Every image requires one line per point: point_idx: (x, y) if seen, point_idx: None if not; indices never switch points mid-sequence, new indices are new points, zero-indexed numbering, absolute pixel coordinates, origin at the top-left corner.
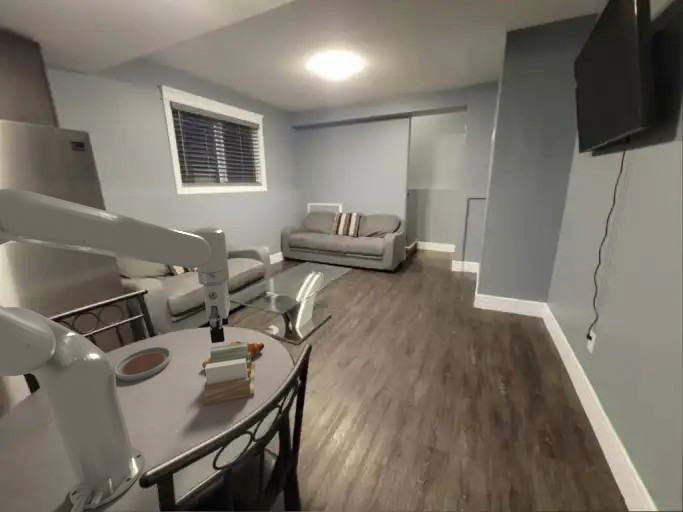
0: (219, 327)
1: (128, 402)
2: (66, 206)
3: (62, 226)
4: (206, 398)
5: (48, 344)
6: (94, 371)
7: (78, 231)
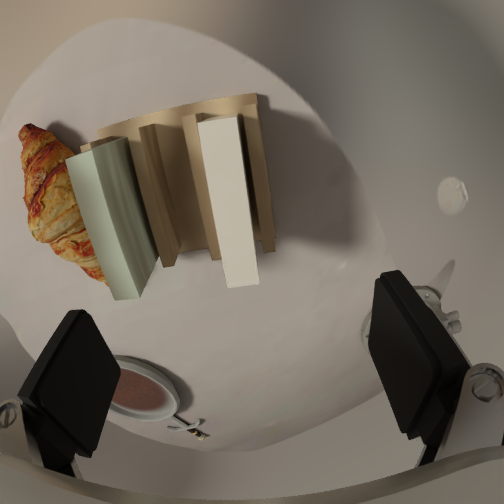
0: (500, 392)
1: (237, 375)
2: None
3: None
4: (260, 233)
5: None
6: None
7: None
